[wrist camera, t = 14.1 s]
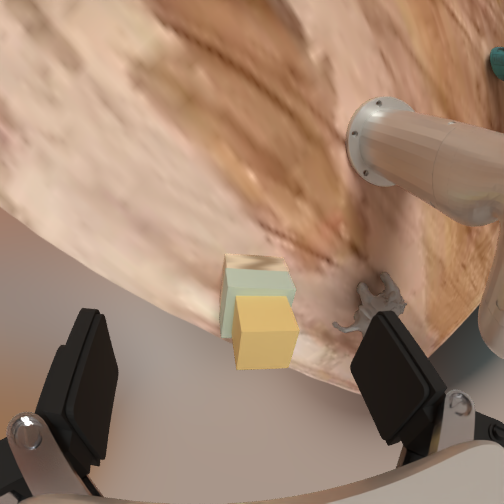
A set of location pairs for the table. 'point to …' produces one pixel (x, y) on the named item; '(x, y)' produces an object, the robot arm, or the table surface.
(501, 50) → the beverage bottle
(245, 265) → the tower base
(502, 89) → the table surface
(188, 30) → the table surface
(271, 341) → the block
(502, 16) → the table surface
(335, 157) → the table surface
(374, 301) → the gray elephant figurine
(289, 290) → the pale green square block
